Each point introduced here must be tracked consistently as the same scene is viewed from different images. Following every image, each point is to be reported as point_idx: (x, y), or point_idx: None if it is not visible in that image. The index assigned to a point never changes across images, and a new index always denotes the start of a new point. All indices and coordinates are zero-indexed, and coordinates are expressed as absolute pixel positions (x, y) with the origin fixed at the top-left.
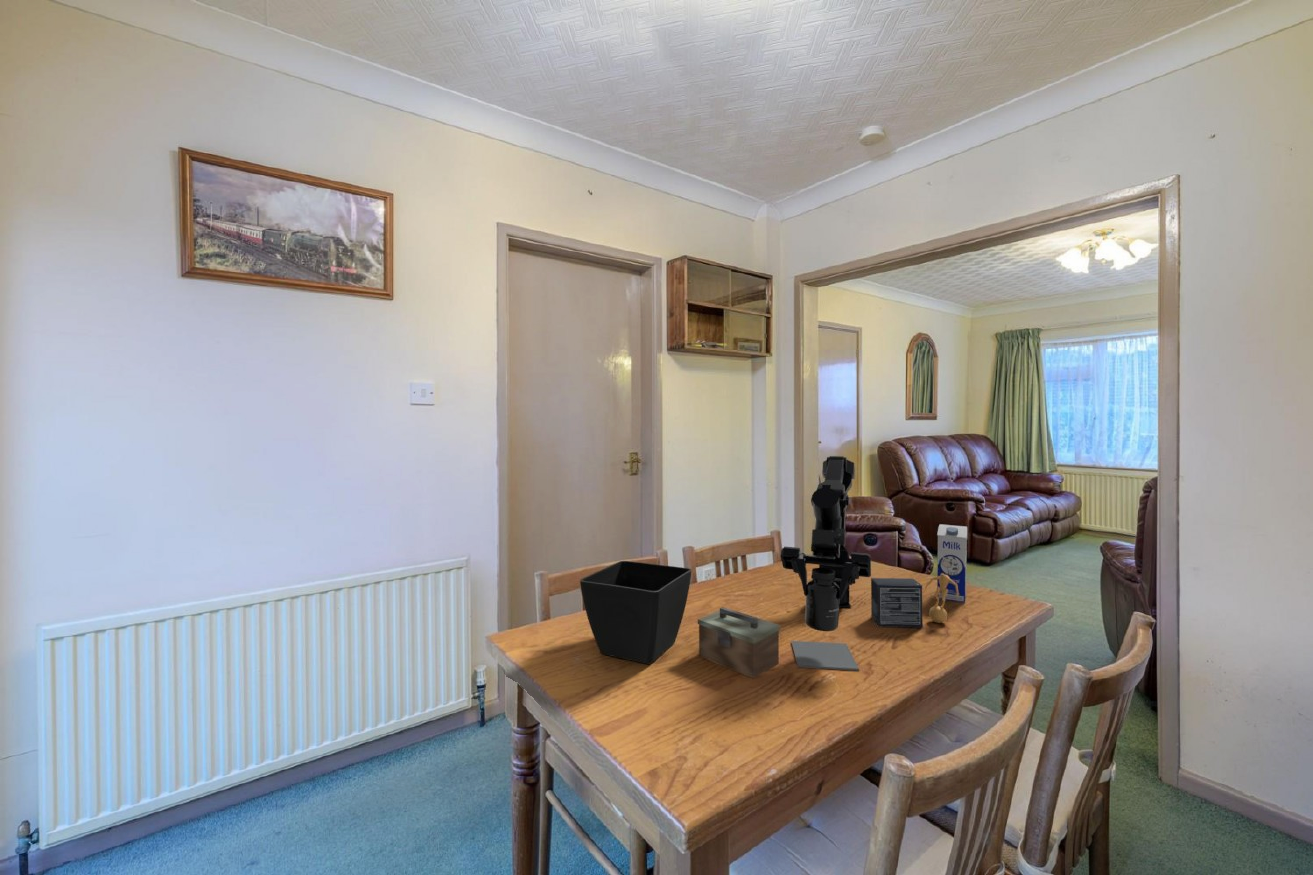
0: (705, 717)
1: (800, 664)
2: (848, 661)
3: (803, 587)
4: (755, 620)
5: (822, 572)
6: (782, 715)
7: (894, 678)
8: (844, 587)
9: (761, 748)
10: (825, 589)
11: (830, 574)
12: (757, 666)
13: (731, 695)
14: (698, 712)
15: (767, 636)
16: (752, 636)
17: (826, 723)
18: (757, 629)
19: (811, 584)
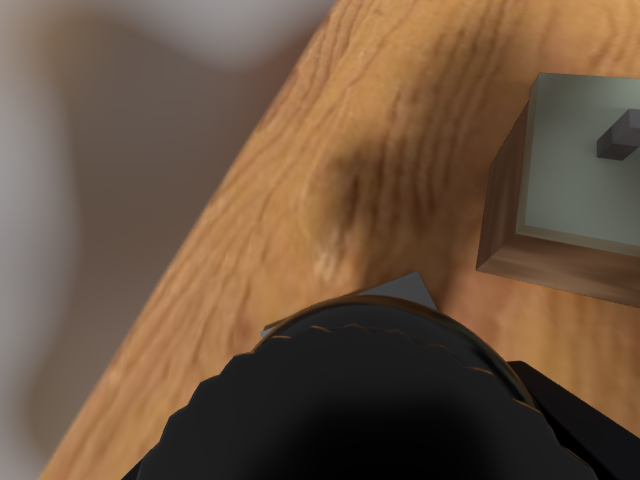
0: (491, 18)
1: (412, 279)
2: None
3: (569, 397)
4: (622, 119)
5: (337, 406)
6: (376, 84)
7: (181, 330)
8: (139, 461)
9: (375, 13)
10: (312, 311)
11: (195, 404)
12: (498, 162)
13: (493, 86)
14: (511, 21)
15: (524, 154)
16: (556, 83)
17: (303, 101)
18: (581, 140)
19: (480, 363)
